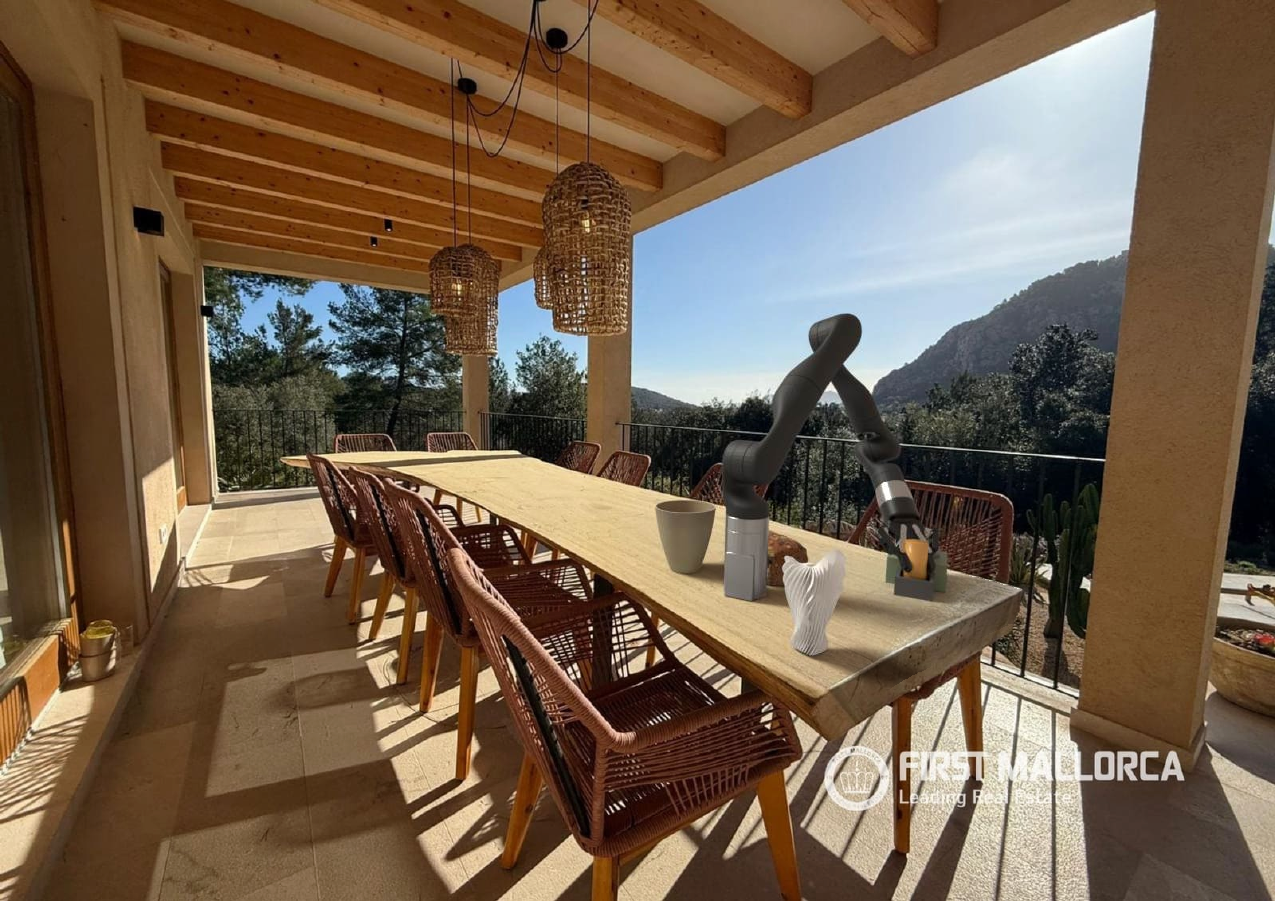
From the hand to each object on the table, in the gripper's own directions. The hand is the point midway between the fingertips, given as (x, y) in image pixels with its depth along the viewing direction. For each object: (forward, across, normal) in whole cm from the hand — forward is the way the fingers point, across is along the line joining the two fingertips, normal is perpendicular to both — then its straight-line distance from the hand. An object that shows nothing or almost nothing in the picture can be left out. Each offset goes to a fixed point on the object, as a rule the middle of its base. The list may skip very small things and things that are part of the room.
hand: (920, 570), depth 113 cm
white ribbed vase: (+22, -32, -14) cm, 41 cm away
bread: (-6, -29, +14) cm, 33 cm away
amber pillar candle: (+2, 0, +4) cm, 5 cm away
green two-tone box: (-1, +3, +9) cm, 9 cm away
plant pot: (-7, -50, +16) cm, 52 cm away
